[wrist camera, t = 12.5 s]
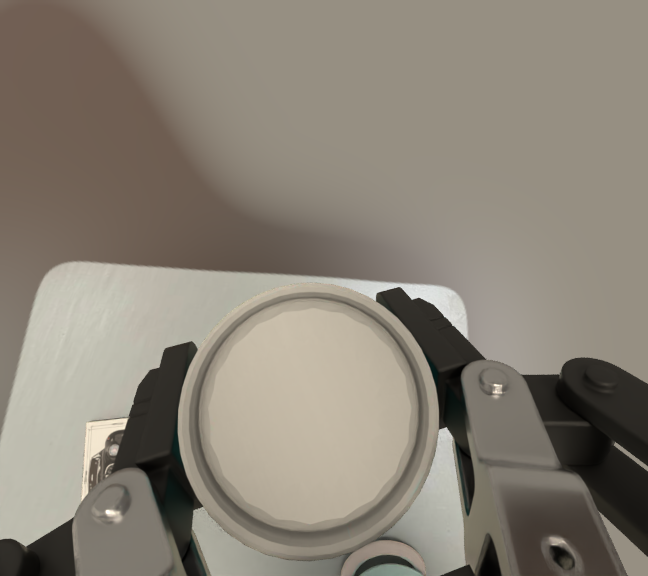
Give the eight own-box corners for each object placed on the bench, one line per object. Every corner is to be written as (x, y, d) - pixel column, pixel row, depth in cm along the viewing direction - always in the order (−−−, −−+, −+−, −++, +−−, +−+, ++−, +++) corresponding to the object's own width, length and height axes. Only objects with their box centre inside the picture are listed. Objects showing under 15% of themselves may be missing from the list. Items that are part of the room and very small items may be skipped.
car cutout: (176, 639, 22) (147, 705, 18) (74, 657, 22) (19, 730, 17) (178, 411, 26) (153, 421, 21) (89, 421, 25) (46, 433, 21)
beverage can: (268, 327, 21) (203, 245, 7) (353, 342, 22) (463, 293, 7) (250, 418, 20) (117, 557, 5) (340, 433, 20) (445, 606, 6)
